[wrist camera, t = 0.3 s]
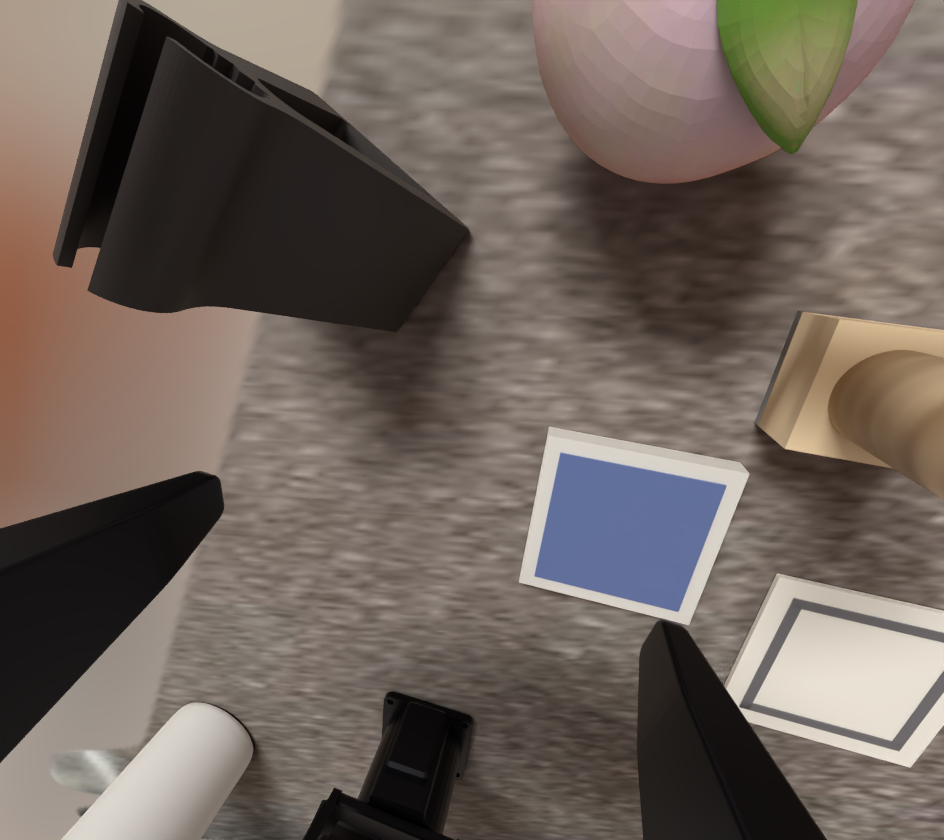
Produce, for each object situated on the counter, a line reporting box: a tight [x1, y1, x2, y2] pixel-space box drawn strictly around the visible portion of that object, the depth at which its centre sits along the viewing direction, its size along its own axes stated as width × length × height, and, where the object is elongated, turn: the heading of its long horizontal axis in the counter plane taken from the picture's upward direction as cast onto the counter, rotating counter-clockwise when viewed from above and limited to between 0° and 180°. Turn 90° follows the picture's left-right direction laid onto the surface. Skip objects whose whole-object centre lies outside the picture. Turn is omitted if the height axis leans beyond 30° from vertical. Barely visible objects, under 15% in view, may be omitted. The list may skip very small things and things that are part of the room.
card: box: [724, 573, 944, 767], centre depth 22 cm, size 10×10×1 cm
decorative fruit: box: [532, 0, 914, 184], centre depth 11 cm, size 9×8×10 cm
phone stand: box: [53, 0, 469, 332], centre depth 15 cm, size 9×6×12 cm, turn 51°
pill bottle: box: [61, 702, 253, 840], centre depth 31 cm, size 8×8×15 cm
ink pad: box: [519, 427, 749, 625], centre depth 22 cm, size 9×9×1 cm
